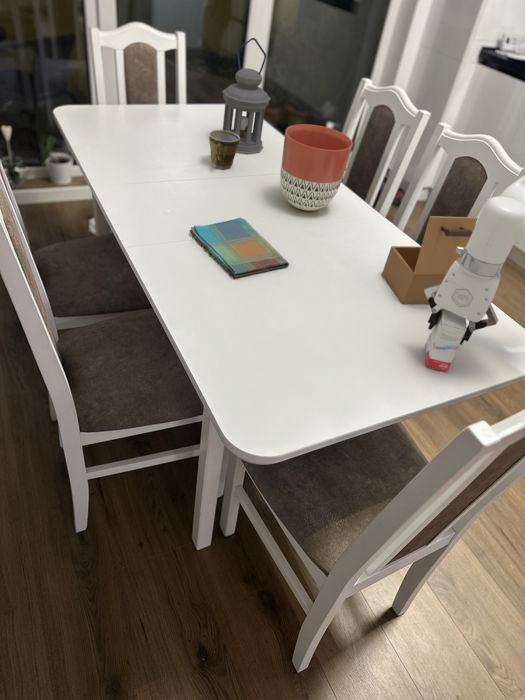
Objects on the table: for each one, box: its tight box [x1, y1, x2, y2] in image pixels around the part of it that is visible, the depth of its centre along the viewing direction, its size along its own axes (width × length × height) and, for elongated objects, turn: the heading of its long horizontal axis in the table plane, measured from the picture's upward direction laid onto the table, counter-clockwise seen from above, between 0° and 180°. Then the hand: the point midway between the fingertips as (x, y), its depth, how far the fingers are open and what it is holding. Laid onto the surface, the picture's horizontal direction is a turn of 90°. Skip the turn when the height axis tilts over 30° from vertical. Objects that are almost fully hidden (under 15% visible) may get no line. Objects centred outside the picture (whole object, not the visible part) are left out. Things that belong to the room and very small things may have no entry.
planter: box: [279, 123, 354, 212], centre depth 160 cm, size 20×20×21 cm
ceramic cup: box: [208, 129, 240, 171], centre depth 177 cm, size 13×10×10 cm
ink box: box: [425, 308, 467, 373], centre depth 115 cm, size 9×5×12 cm, turn 165°
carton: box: [381, 245, 446, 305], centre depth 137 cm, size 13×12×9 cm
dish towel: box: [189, 217, 290, 278], centre depth 141 cm, size 17×23×2 cm
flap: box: [414, 215, 479, 274], centre depth 124 cm, size 14×12×4 cm
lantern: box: [221, 37, 272, 155], centre depth 186 cm, size 17×17×35 cm
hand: (446, 333), depth 115 cm, fingers closed on ink box, 6 cm apart
